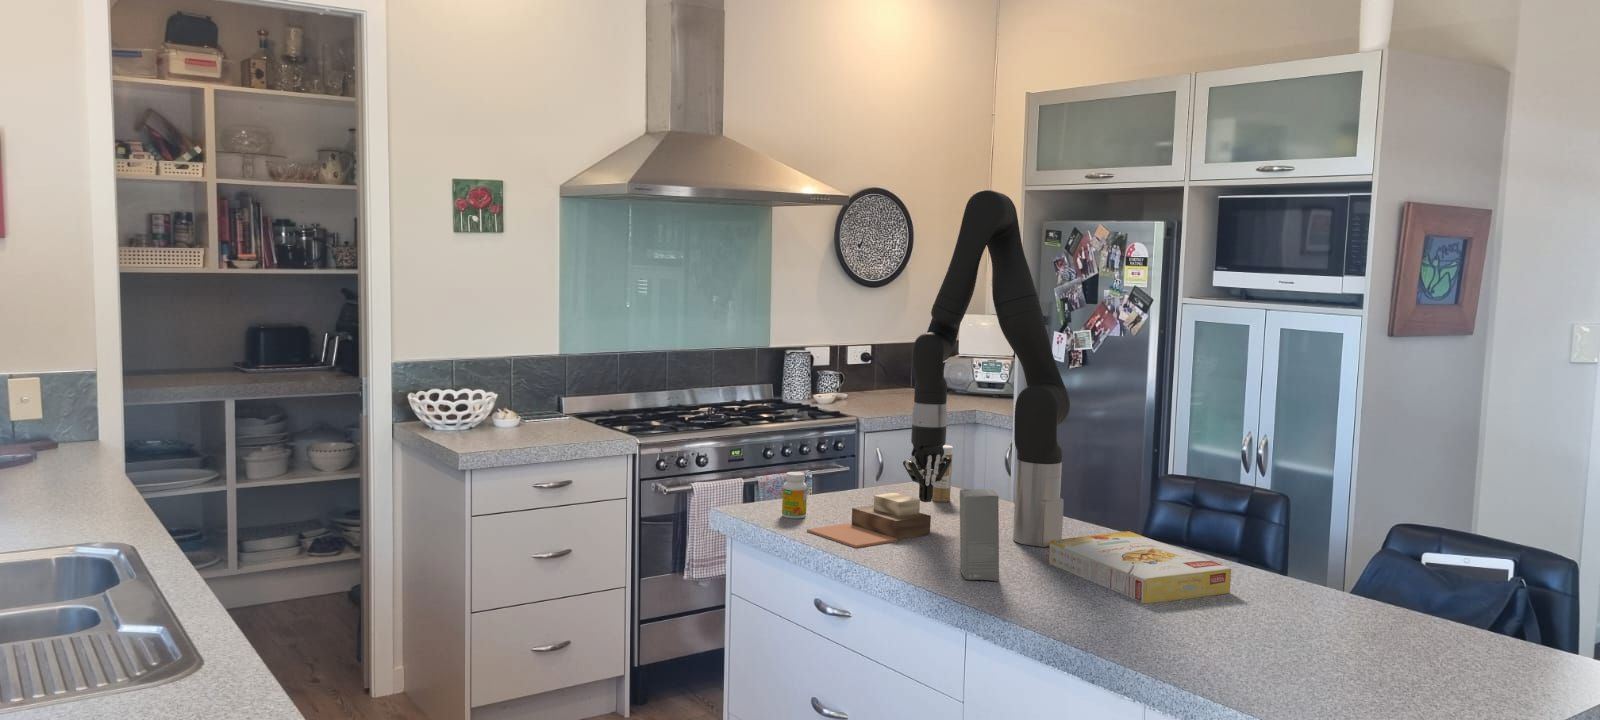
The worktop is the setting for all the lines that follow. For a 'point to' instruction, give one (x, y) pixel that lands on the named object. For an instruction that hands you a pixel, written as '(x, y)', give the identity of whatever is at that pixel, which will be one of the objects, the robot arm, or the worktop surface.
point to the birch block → (896, 504)
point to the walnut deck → (891, 522)
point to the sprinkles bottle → (944, 480)
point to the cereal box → (1140, 567)
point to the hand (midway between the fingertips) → (925, 501)
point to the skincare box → (979, 534)
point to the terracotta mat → (851, 535)
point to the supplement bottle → (794, 496)
